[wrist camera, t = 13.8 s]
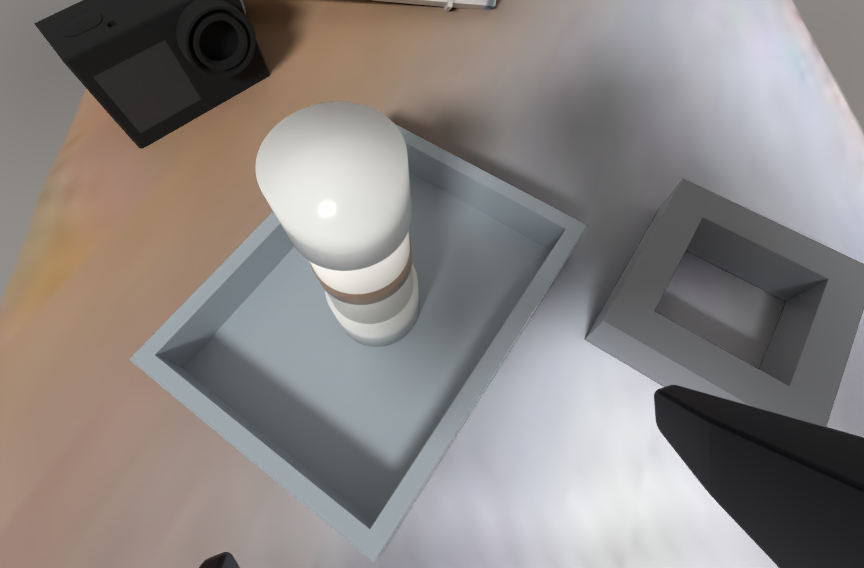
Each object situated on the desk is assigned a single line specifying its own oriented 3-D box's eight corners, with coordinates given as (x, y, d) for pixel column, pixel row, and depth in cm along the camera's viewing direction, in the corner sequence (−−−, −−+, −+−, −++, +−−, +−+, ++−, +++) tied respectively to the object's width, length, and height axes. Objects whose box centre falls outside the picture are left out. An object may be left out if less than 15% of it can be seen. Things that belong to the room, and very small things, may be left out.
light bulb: (417, 348, 23) (402, 225, 12) (332, 345, 23) (241, 220, 12) (421, 270, 25) (411, 103, 14) (342, 268, 25) (270, 100, 14)
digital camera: (148, 162, 30) (69, 73, 23) (112, 115, 31) (29, 21, 25) (280, 84, 32) (242, -14, 26) (240, 46, 34) (195, -55, 28)
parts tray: (383, 551, 20) (373, 562, 17) (170, 376, 24) (129, 359, 21) (569, 257, 26) (587, 225, 23) (378, 151, 30) (370, 111, 27)
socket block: (772, 451, 22) (820, 445, 19) (584, 339, 24) (603, 320, 22) (828, 293, 25) (876, 269, 22) (658, 209, 28) (683, 178, 25)
